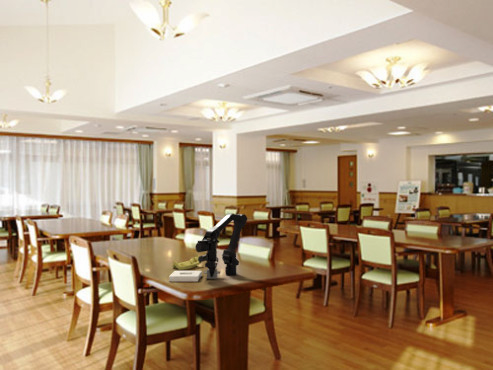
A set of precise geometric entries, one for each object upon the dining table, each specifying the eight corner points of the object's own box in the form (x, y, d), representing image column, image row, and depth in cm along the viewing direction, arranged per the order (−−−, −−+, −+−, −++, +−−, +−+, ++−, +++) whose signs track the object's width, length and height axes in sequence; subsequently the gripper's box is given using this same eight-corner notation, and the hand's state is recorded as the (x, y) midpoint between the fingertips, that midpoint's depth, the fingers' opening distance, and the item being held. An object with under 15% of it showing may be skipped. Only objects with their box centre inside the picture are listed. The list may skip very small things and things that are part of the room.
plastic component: (180, 267, 276) (173, 259, 282) (178, 276, 279) (171, 268, 285) (205, 261, 289) (197, 253, 295) (203, 270, 292) (195, 262, 298)
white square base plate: (201, 275, 261) (201, 270, 261) (197, 281, 245) (197, 276, 245) (174, 275, 262) (174, 270, 262) (169, 281, 246) (169, 276, 246)
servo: (220, 277, 255) (220, 267, 255) (219, 278, 251) (219, 269, 251) (204, 277, 255) (204, 267, 255) (203, 278, 251) (203, 269, 251)
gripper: (200, 248, 262) (201, 272, 262) (196, 253, 244) (196, 279, 244) (218, 248, 262) (218, 272, 262) (215, 253, 243) (215, 279, 243)
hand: (212, 276), depth 253 cm, fingers closed on servo, 4 cm apart
